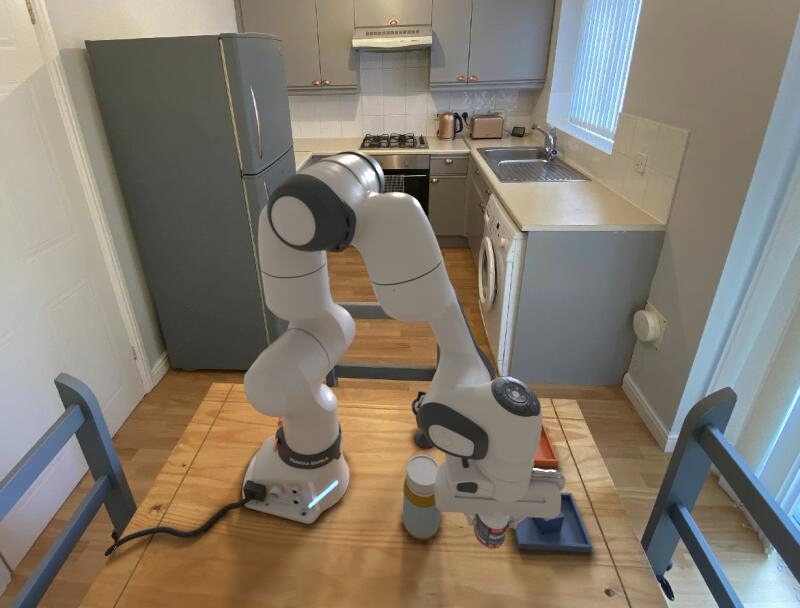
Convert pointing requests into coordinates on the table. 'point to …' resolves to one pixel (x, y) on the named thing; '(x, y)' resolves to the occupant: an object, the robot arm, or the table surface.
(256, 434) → the table surface
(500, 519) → the pill bottle
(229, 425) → the table surface
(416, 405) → the sundae
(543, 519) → the blue block
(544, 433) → the orange tray
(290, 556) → the table surface
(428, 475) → the bottle
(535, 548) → the blue tray
